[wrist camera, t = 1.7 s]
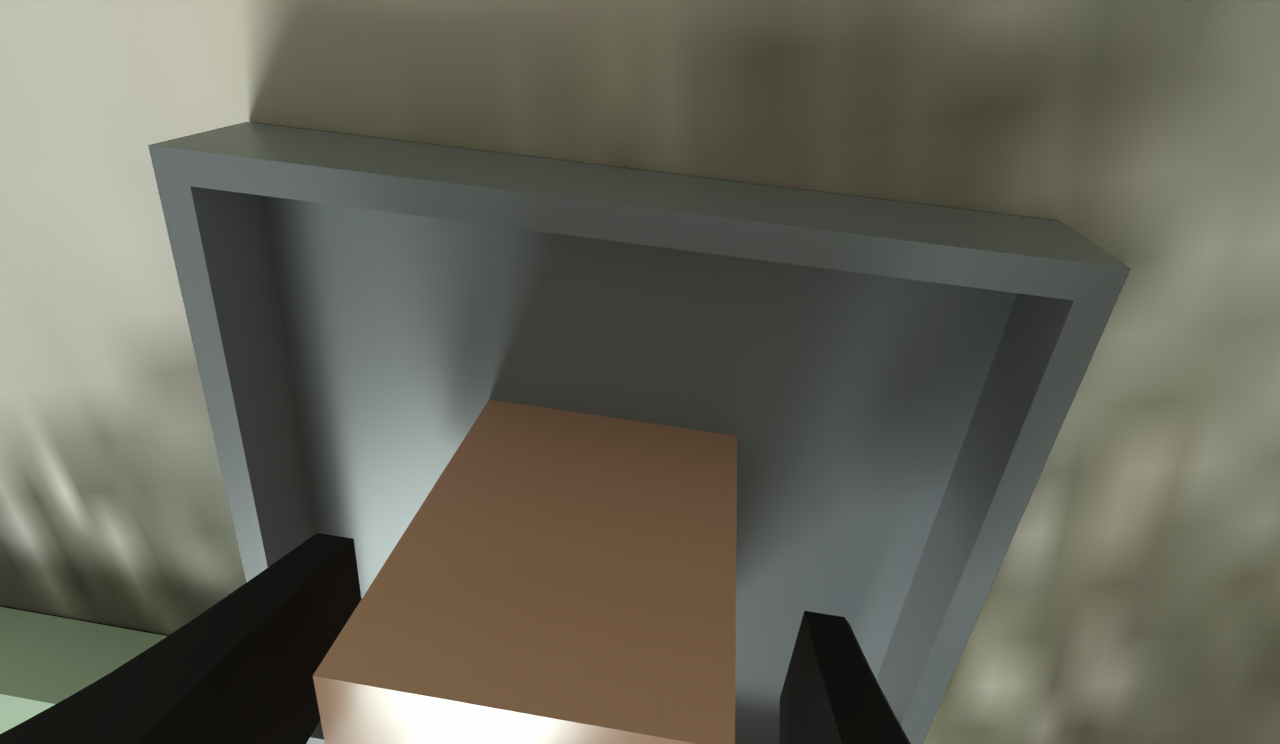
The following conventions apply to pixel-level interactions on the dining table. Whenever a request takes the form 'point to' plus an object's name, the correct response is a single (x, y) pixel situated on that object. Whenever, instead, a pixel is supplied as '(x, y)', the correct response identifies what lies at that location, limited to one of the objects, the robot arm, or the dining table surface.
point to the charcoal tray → (640, 363)
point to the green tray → (56, 659)
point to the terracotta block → (552, 593)
